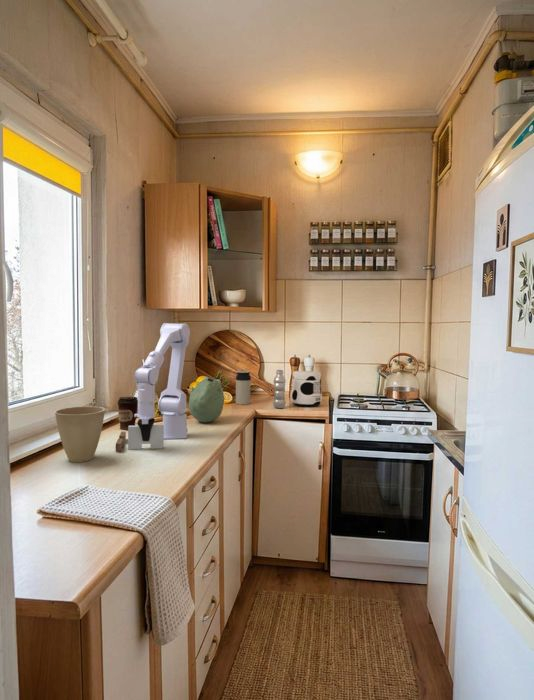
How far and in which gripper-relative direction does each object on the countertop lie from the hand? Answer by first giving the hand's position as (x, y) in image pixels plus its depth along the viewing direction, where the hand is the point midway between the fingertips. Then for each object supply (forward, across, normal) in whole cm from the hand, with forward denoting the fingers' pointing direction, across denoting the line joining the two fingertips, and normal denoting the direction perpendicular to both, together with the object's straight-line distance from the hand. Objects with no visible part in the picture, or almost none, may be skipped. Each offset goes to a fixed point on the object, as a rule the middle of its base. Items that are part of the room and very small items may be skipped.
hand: (146, 440), depth 167 cm
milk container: (+3, -79, +81) cm, 113 cm away
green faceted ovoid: (+3, -41, +24) cm, 48 cm away
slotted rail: (+3, -5, -9) cm, 11 cm away
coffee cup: (+3, -32, -9) cm, 33 cm away
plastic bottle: (+3, -71, +64) cm, 96 cm away
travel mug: (+3, -86, +47) cm, 98 cm away
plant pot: (+3, +10, -20) cm, 23 cm away
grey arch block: (+3, 0, 0) cm, 3 cm away
